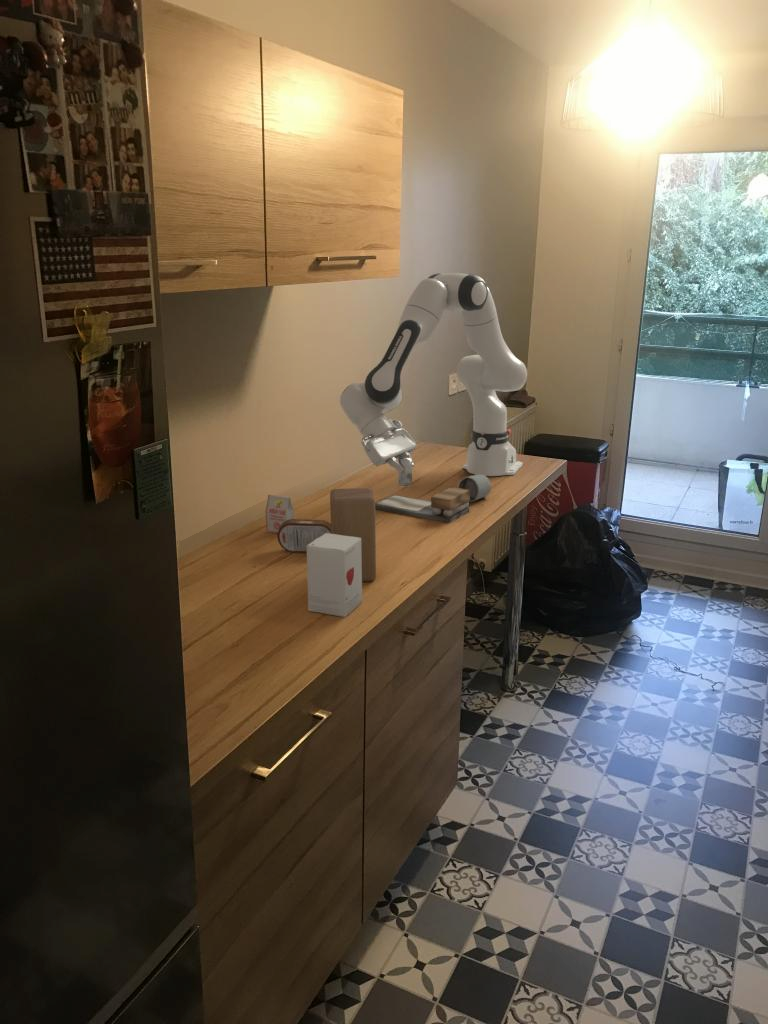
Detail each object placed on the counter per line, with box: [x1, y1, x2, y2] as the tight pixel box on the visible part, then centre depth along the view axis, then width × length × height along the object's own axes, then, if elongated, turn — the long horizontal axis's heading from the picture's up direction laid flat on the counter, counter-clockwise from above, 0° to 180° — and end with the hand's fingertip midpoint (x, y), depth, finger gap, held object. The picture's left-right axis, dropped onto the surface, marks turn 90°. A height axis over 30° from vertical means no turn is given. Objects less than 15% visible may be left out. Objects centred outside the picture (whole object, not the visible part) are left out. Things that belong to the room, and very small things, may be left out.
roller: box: [397, 456, 413, 488], centre depth 244 cm, size 4×4×8 cm
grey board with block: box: [375, 486, 470, 523], centre depth 244 cm, size 12×26×7 cm, turn 58°
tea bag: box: [265, 494, 295, 534], centre depth 226 cm, size 4×7×10 cm, turn 62°
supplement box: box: [306, 533, 363, 618], centre depth 177 cm, size 9×9×15 cm
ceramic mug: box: [457, 474, 492, 503], centre depth 255 cm, size 11×8×8 cm
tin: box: [276, 518, 331, 554], centre depth 211 cm, size 15×3×8 cm, turn 84°
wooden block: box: [329, 487, 377, 582], centre depth 194 cm, size 10×10×20 cm
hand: (407, 469), depth 243 cm, fingers closed on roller, 4 cm apart
